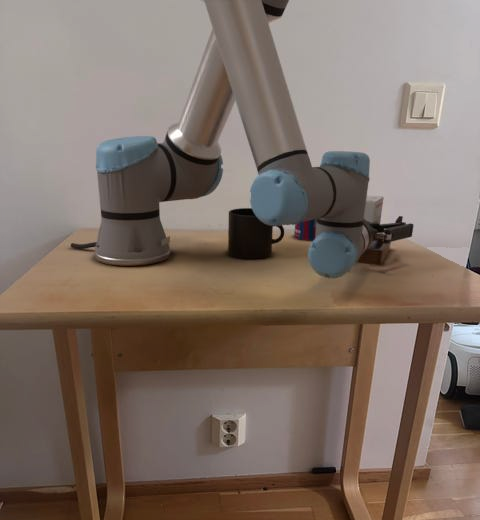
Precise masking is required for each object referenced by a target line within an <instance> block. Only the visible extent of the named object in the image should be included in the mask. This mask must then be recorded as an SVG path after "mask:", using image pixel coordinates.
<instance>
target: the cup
mask: <svg viewBox="0 0 480 520" xmlns="http://www.w3.org/2000/svg"><path fill="white" fill-rule="evenodd" d="M314 223H315V219H313V220H308V221H303V222H300V223H298V224H295V225H294V236H293V237H294V239H297V240H302V241H313V240H314V239H315V235H316V228H315V227H314Z"/></svg>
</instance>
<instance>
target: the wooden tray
mask: <svg viewBox="0 0 480 520" xmlns="http://www.w3.org/2000/svg"><path fill="white" fill-rule="evenodd" d="M391 243H392V242H391ZM391 243H388V244H385V243H383V241H382V239H380V238H378V243H377V249H372V248H367V249H366V251H365V252H364V253H363V254H362V255H361V257H360V258H359V260H358V261H357V263H361V264H362V263H364V264H370V265H380V266H381V265H382V263H383V261H384V260H385V258H386V256H387V255H388V253H389V251H390V250H391Z"/></svg>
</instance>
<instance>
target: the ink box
mask: <svg viewBox="0 0 480 520" xmlns="http://www.w3.org/2000/svg"><path fill="white" fill-rule="evenodd" d="M384 197H385V196H383V195H367V198H366V205H365V213H364V219H365V220H366V221H367V222H368V223H372V222H375V223H379V224H381V221H382V214H383V213H382V212H383V204H384ZM377 243H378V240H376V241H372V242H371V244H370V245H369V247H368V248H372V249H377Z"/></svg>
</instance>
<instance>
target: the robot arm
mask: <svg viewBox="0 0 480 520" xmlns="http://www.w3.org/2000/svg"><path fill="white" fill-rule="evenodd" d="M200 2H203V3H204V4H205V5H204V6H205V8H206V11H207V14H208V18H209V21H210V25H211V27H212V29H211V31H210V34H209V37H208V39H207V42H206V45H205V48H204V51H203V54H202V56H201V59H200V62H199V65H198V68H197V71H196V73H195V76H194V78H193V82H192V84H191V87H190V90H189V93H188V95H187V98H186V100H185V101H186V102H185V104H184V107H183V109H182V113H181V115H180V118H179V121H178V122H177V123H173V124H171V125H170V126H168V128H167V132H166V134H165V137H164V139H163V142H157V139H156V137H155V136H150V135H134V136H125V137H124V136H123V137H117V138H112V139H107V140H104V141H101V143H99V144H98V145H97V147H96V150H95V170H96V174H97V175H96V176H97V185H98V187H97V188H98V195H99V196H98V197H99V207H100V221H101V222H100V225H99V228H98V234H97V239H96V241H94V242H88V243H74V242H72V243H70V248H73V249H78V250H80V249H81V250H85V249H90V248H94V255H95V256H94V257H95V260H97V261H98V262H100V263H103V264H106V265H110V266H121V267H134V266H135V267H136V266H138V267H139V266H146V265H153V264H157V263H162V262H163V261H166V260H168V259H169V258H170V257H171V248H170V247H171V246H170V243H171V235H169V236H167V235H166V232H165V229H164V226H163V224H162V221H161V215H160V214H161V212H160V210H161V209H160V203H165V202H174V201H185V200H196V199H199V198H203V197H206V196H209V195H210V194H212V193H213V192H214V191H215V190H216V189H217V188H218V187H219V185H220V183H221V181H222V177H223V174H224V168H222V165H224V161H223V156H222V147H221V145H220V142H219V140H220V138H221V136H222V133H223V131H224V129H225V126H226V124H227V121H228V119H229V117H230V114H231V111H232V110H233V108H234V105H235V104H236V107H237V110H238V113H239V117H240V120H241V124H242V126H243V129H244V132H245V135H246V139H247V142H248V146H249V148H250V151H251V156H252V157H253V161H254V164H255V168H256V171H257V176H256V177H255V178H254V179H253V182H252V184H251V186H250V190H249V192H250V199H249V203H250V208H252V210H253V212H254V214H255V215H256V217H257V218H258V219H259V220H260V221H261V222H263V223H264V224H267V225H270V226H275V227H276V226H280V225H282V226H290V225H291V226H295V224H298V223H300V222H303V221H308V220H313V219H315V223H314V227H315V228H316V235H315V239H314V240H311V241H312V242H311V243H310V245H309V248H308V251H307V259H308V264H309V265H310V268H311V269H312V270H313V272H315V273H316V274H317V275H319V276H320V277H322V278H325V279H338V278H341V277H343V276H345V275H346V274H347V273H349V272H351V271H352V269H354V267H355V266H356V264H357V263H358V262H357V261H358V260H359V258H360V257H361V255H362V254H363V253H364V252H365V251H366V249H367V248H368V247H369V245H370V244H371V242H372V241H376V240H378V238H380V239H382V241H383V243H385V244H388V243H392V242H395V241H400V240H404V239H408V238H412V237H413V231H414V225H415V224H413V223H407V222H405V221H403V218H404V216H403V215H398V217H397V218H396V219H395V221H394V222H389V223H380V224H379V223H375V222H372V223H368V222H367V221H366V220H365V219H364V213H365V205H366V198H367V196H368V189H369V182H370V178H371V177H370V166H371V165H370V164H371V162H370V161H371V160H370V159H371V158H370V156H369V155H368V154H367V153H365V152H361V151H345V150H331V151H330V150H329V151H325V152H324V153H323V155H322V156H321V162H320V165H319V166H312V162H311V159H310V156H309V153H308V150H307V146H306V143H305V139H304V137H303V133H302V130H301V126H300V123H299V120H298V117H297V114H296V110H295V107H294V104H293V99H292V97H291V94H290V91H289V87H288V83H287V80H286V77H285V74H284V73H285V72H284V70H283V67H282V63H281V61H280V57H279V53H278V51H277V47H276V44H275V41H274V37H273V34H272V31H271V28H270V23H272V22H275V21H277V20H279V19H281V18H282V17H283V15H284V12H285V10H286V8H287V5H288V4H289V2H290V0H200Z"/></svg>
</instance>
